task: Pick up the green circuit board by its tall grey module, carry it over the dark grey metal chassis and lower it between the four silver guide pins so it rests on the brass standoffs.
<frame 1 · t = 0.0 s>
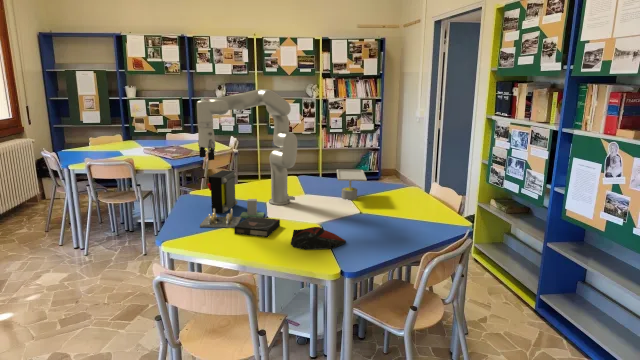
hand: (207, 158, 223), 31 cm above the table, tool pointing down, fingers open, 9 cm apart
chassis: (221, 222, 220), on the table
portable cd player: (257, 231, 210), on the table
board: (252, 216, 232), on the table
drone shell: (317, 245, 194), on the table
electrical component: (224, 208, 244), on the table
solar panel model: (350, 197, 271), on the table
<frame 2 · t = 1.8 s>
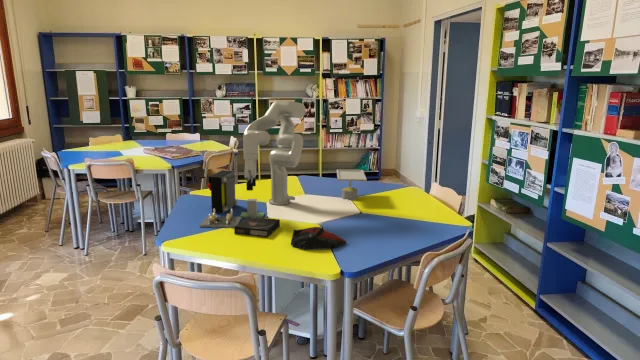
hand: (251, 188, 228), 15 cm above the table, tool pointing down, fingers open, 9 cm apart
nothing on the table moved.
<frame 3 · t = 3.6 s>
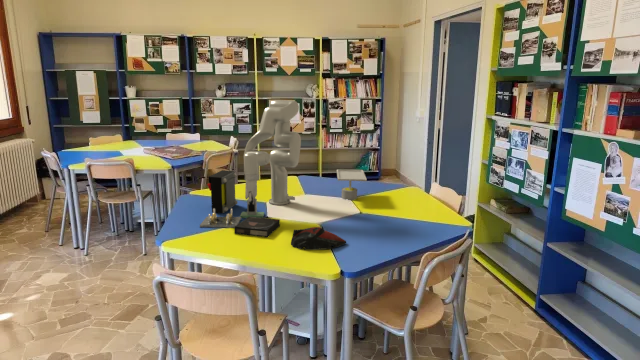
hand: (252, 210, 231), 3 cm above the table, tool pointing down, fingers closed on board, 3 cm apart
board: (252, 216, 232), on the table, touching gripper
everything else where it was.
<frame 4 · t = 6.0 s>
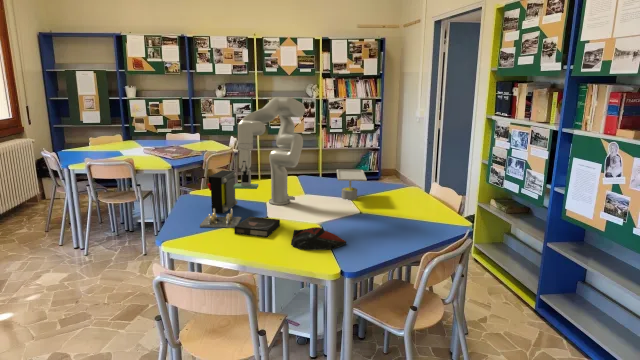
hand: (246, 181, 225), 20 cm above the table, tool pointing down, fingers closed on board, 3 cm apart
board: (246, 187, 226), point 16 cm above the table, touching gripper
everything else where it was.
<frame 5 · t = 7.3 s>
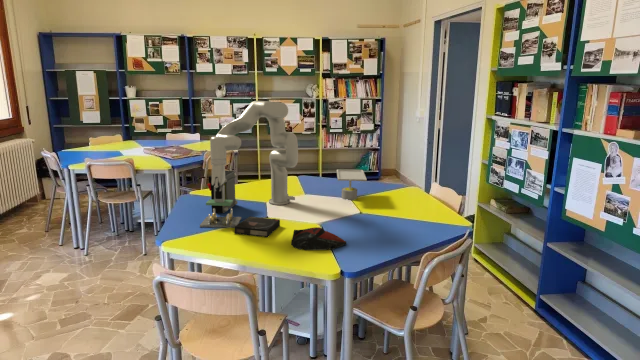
hand: (219, 197, 217), 13 cm above the table, tool pointing down, fingers closed on board, 3 cm apart
board: (219, 203, 217), point 10 cm above the table, touching gripper
everything else where it was.
when the fingers open (8 cm above the table, at t = 8.5 s): board drops 2 cm, resting on chassis.
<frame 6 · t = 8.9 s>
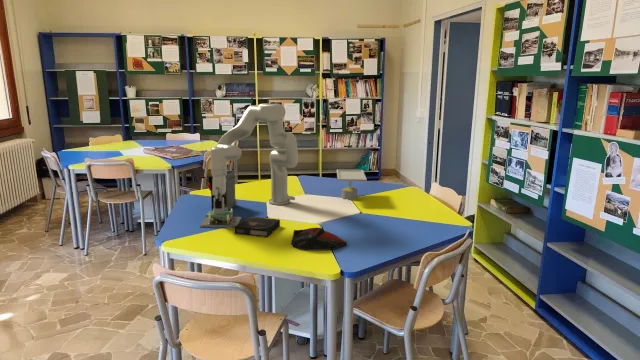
hand: (220, 205, 218), 9 cm above the table, tool pointing down, fingers open, 8 cm apart
board: (219, 215, 219), point 4 cm above the table, touching chassis
everything else where it was.
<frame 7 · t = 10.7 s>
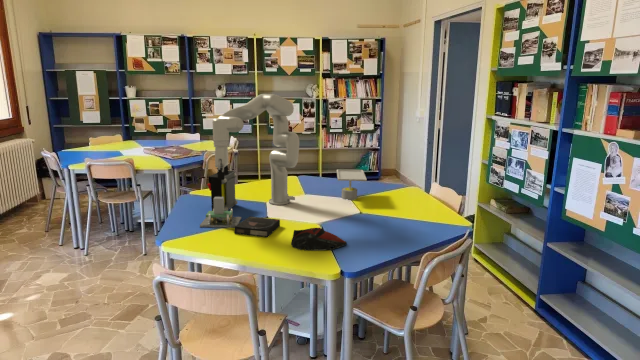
hand: (223, 177, 217), 23 cm above the table, tool pointing down, fingers open, 9 cm apart
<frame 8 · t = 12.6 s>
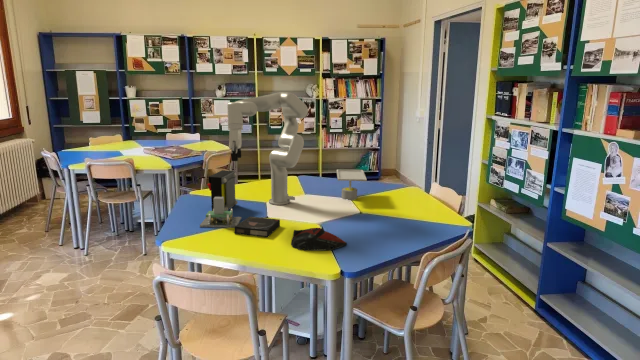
hand: (236, 159, 227), 30 cm above the table, tool pointing down, fingers open, 9 cm apart
at the end: board 0.8 cm off-centre on the chassis, point 4.0 cm above the chassis's base; board tilted 0°; the gripper is holding nothing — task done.
